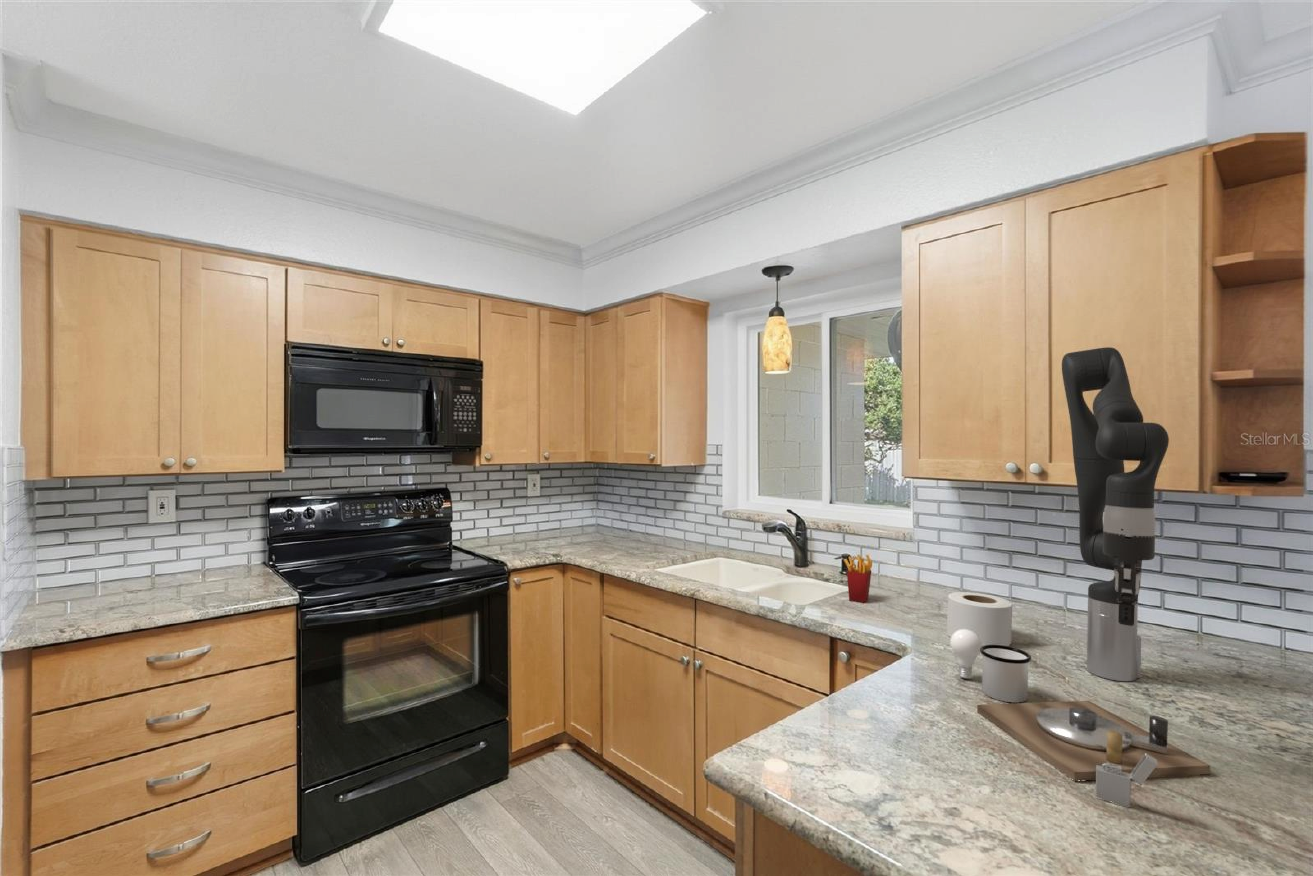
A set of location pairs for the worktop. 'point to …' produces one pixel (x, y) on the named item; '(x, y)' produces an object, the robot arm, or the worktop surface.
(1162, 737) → the pot lid with knob
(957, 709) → the worktop surface
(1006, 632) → the toilet paper roll
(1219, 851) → the worktop surface
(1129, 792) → the lighter
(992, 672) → the mug
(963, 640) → the lightbulb
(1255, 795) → the worktop surface
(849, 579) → the french fries
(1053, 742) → the walnut board
